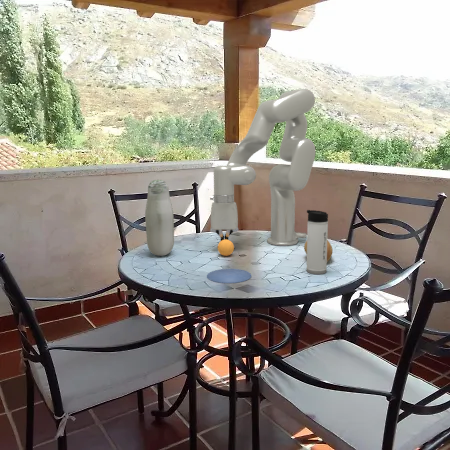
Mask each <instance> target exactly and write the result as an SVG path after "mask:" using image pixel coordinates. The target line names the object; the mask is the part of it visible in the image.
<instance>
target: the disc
mask: <svg viewBox="0 0 450 450" xmlns="http://www.w3.org/2000/svg"><path fill="white" fill-rule="evenodd" d="M206 278H207V279H208V280H210V281H211V282H214V283H220V284H237V283H243V282H246V281H248V280H250V279H251V278H252V274H251V273H250V271H247V270H245V269H244V270H243V269H241V268H221V269H215V270H212V271H210V272H208V273H207V275H206Z"/></svg>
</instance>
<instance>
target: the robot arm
mask: <svg viewBox="0 0 450 450" xmlns="http://www.w3.org/2000/svg"><path fill="white" fill-rule="evenodd" d="M315 103H316V98H315V94H314V92H313V91H311V90H310V89H307V88H299V89H293V90H288V91H284V92H283V93H281V95H280V96H279V98H276V99H275V98H274V99H269V100H265V101H263V102H261V103H260V104H259V106H258V107H257V110H256V112H255V114H254V117H253V119H252V122H251V124H250V127H249V128H248V131H247V133H246V134H245V137H244V138H243V139H242V140H241V141H240V142H239V144H238V145H237V146H236V147H235V149H234V150H233V151H232V154H231V155H230V157H229V160H228V162H227V164H226V165H218V166H217V165H216V166H215V167H214V168H213V195H210V196H209V197H210V199H209V200H210V201H213V202H212V203H211V209H210V230H209V231H210V232H211V233H216V234H217V236H219V238H220V241H222V240H225V239H226V240H229V237H230V236H231V235H232V234H233V233H237V232H239V227H238V225H239V220H238V217H239V215H238V207H237V202H235V185H236V186H237V185H238V186H249V185H250V184H252V183H254V181H255V180H256V177H257V172H256V170H255V169H254V167H253V166H250V165H249V164H248V165H247V163H248V162H249V160H250V158H251V157H252V156H253V155H254V154H256V153H257V152H259V151H261V150H262V149H263V148H265V147H266V146H267V145H268V143H269V140H270V138H271V135H272V133H273V131H274V128H275V126H276V124H278V123H279V124H281V123H285V129H284V132H283V136H282V139H281V142H280V146H279V151H278V152H279V153H278V154H279V157H280V159H281V160H282V161H285V162H289V163H290V164H284V163H283V164H282V163H281V164H277V165H275V166H273V167H272V168H271V169H270V171H269V174H268V183H269V187H270V188H269V189H270V237H267V240H266V242H267V243H268V244H269V245H273V246H280V247H281V246H285V247H286V246H294V245H297V244H298V243H299V239H307V233H306V232H296V230H295V222H296V220H295V219H296V217H295V216H296V215H295V213H296V212H295V211H296V198H295V197H296V196H295V192H297V191H301V190H304V188H305V187H306V186H307V184H308V182H309V180H310V177H311V173H312V168H313V165H314V162H315V158H316V146H315V144H314V142H313V140H312V139H309V138H307V137H306V135H307V132H308V121H307V120H308V119H307V117H306V113H309V111H311V110H312V109H313V107H314V106H315ZM294 191H295V192H294ZM225 230H226V231H225ZM223 231H225V234H224V233H223Z"/></svg>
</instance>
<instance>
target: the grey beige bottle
mask: <svg viewBox="0 0 450 450" xmlns="http://www.w3.org/2000/svg"><path fill="white" fill-rule="evenodd" d="M146 199H147V200H146V205H145V213H144V215H145V217H144V218H145V232H146V233H145V234H146V235H145V236H146V244H147V248H148V250H149V252H150V253H151V254H153V255H155V256H157V257H158V256H159V257H160V256H161V257H163V256H166V255H169V254H170V253H171V252H172V250H173V248H174V246H175V229H174V228H175V225H174V224H175V223H174V221H175V220H174V219H175V217H174V210H173V206H172V201H171V197H170V189H169V185H168V183H167V182H166V181H165V180H162V179H154V180H151V181H150V183H149V184H148V186H147V198H146Z"/></svg>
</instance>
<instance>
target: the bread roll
mask: <svg viewBox="0 0 450 450" xmlns="http://www.w3.org/2000/svg"><path fill="white" fill-rule="evenodd" d="M303 250H304V252H305V254H306V255H307V240H306V241H305V243H304V245H303ZM332 256H333V247H332V244H331V242H330V241H329V240H328V239H327V263H328V262H329V261H330V259H331V257H332Z"/></svg>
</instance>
